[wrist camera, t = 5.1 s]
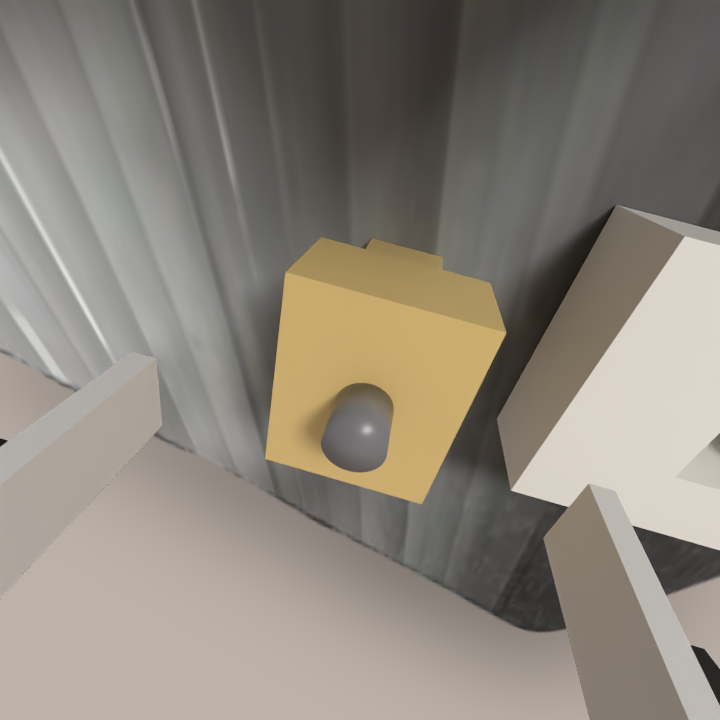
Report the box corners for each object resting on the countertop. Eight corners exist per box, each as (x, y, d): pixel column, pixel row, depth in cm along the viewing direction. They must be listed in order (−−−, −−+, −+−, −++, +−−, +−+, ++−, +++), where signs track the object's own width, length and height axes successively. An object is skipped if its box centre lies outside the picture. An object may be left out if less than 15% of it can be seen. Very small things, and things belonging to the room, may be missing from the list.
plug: (330, 332, 24) (243, 500, 14) (355, 203, 20) (257, 299, 9) (428, 359, 24) (419, 551, 13) (474, 235, 20) (519, 371, 9)
